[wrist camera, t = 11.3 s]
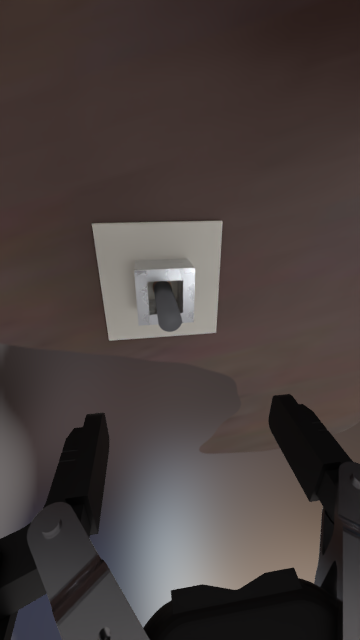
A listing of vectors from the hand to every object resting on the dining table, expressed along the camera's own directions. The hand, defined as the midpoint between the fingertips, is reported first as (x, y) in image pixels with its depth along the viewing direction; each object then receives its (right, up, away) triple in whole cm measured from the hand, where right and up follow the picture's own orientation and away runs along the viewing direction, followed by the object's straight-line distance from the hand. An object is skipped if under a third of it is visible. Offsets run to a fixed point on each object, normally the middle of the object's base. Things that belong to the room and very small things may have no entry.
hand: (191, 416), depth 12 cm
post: (-3, +9, +19) cm, 22 cm away
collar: (-3, +9, +18) cm, 21 cm away
